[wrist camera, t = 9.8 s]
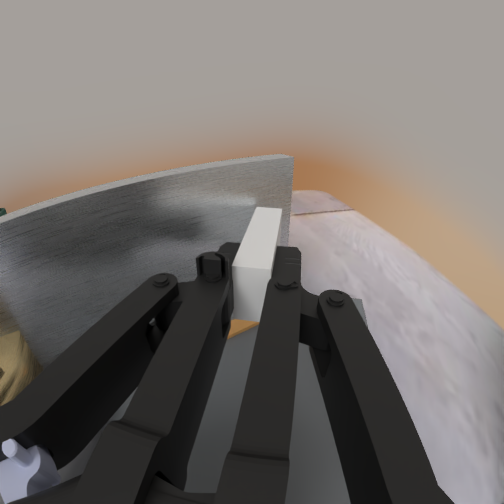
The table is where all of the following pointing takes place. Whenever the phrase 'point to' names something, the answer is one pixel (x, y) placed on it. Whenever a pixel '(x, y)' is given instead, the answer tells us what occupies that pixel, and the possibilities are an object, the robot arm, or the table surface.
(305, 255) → the table surface
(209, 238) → the two-tone lugged fixture
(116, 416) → the grey flat slab
